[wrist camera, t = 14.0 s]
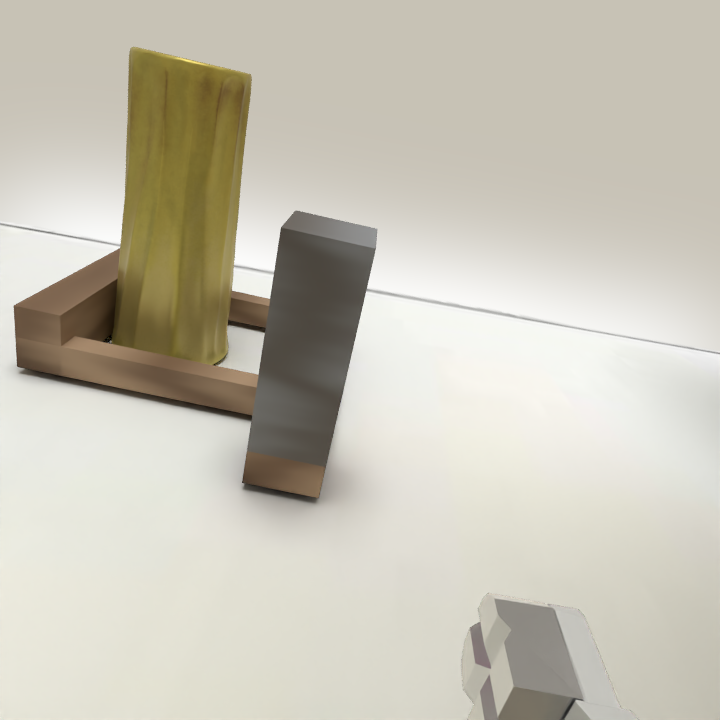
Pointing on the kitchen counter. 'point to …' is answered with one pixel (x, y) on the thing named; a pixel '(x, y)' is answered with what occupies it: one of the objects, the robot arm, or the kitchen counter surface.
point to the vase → (180, 205)
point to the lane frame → (222, 385)
